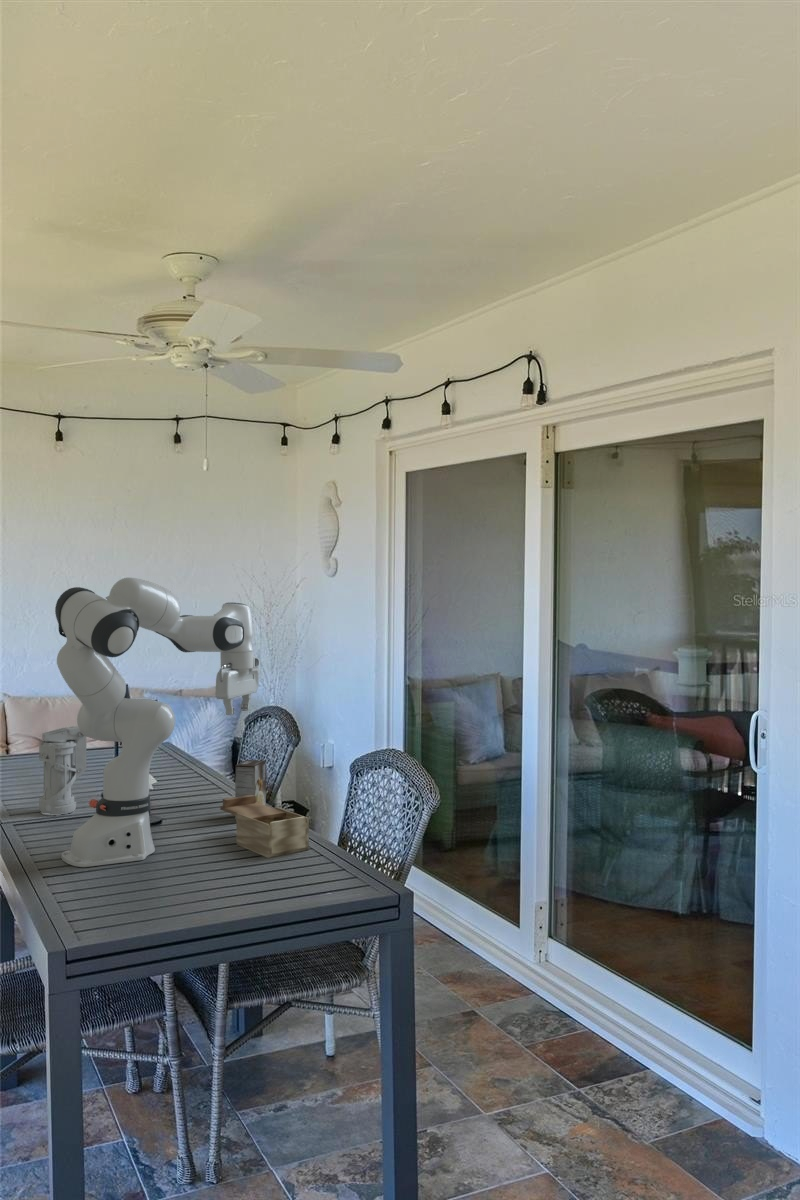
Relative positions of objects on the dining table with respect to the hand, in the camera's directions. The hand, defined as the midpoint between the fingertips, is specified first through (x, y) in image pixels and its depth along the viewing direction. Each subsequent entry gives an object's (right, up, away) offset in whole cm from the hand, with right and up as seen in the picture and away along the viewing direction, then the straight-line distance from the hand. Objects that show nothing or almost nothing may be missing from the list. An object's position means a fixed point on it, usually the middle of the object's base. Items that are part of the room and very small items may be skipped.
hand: (237, 712), depth 267 cm
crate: (+11, -33, -13) cm, 38 cm away
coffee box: (+1, -33, +19) cm, 38 cm away
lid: (+5, -26, -6) cm, 27 cm away
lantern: (-56, -33, +25) cm, 70 cm away
